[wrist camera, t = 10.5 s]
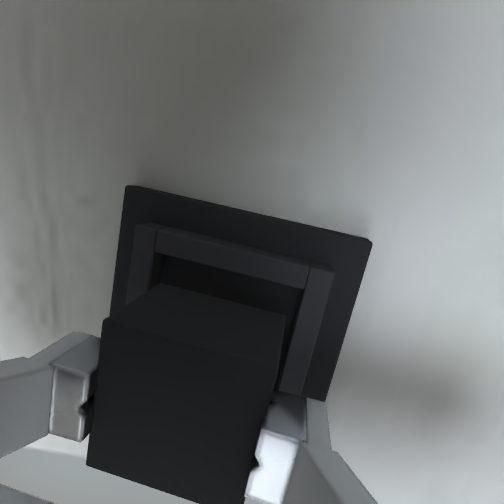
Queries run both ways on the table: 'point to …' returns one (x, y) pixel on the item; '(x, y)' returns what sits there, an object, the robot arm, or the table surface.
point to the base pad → (247, 273)
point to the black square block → (184, 392)
